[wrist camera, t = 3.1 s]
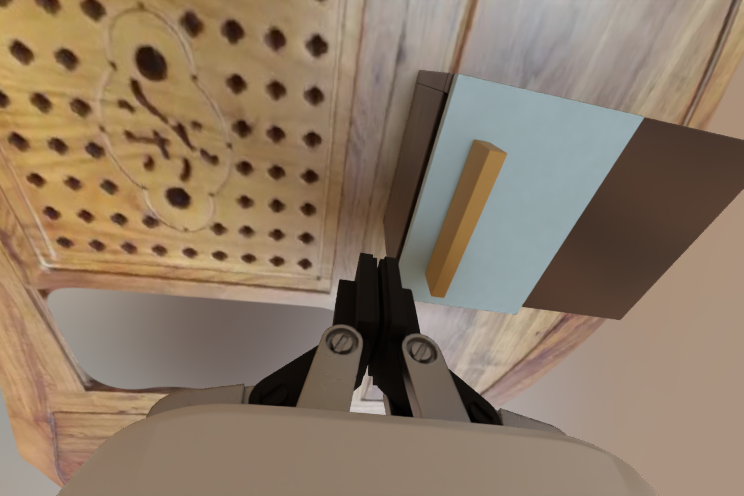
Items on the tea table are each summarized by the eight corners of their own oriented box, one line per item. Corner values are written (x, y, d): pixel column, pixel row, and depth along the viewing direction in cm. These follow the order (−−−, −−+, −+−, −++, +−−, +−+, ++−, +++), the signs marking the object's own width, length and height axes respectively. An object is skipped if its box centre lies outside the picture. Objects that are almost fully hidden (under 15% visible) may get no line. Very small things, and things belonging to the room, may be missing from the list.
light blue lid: (454, 73, 12) (473, 75, 10) (634, 114, 13) (688, 124, 11) (389, 292, 19) (392, 322, 17) (512, 308, 20) (530, 338, 18)
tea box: (419, 69, 20) (452, 73, 12) (633, 118, 22) (782, 148, 14) (382, 222, 27) (389, 289, 19) (550, 249, 29) (620, 320, 21)
